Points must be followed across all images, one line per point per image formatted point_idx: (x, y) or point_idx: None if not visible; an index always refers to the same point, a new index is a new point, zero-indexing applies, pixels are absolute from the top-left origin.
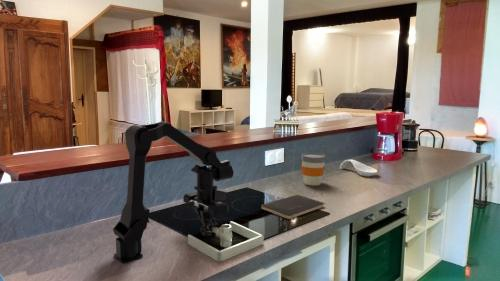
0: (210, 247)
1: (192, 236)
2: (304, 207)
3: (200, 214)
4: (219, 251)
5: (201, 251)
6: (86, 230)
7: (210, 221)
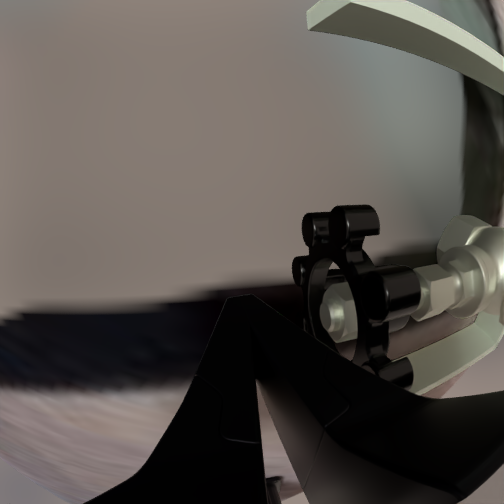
0: (467, 366)
1: None
2: None
3: (307, 491)
4: (496, 344)
5: None
6: (50, 483)
7: (381, 345)
